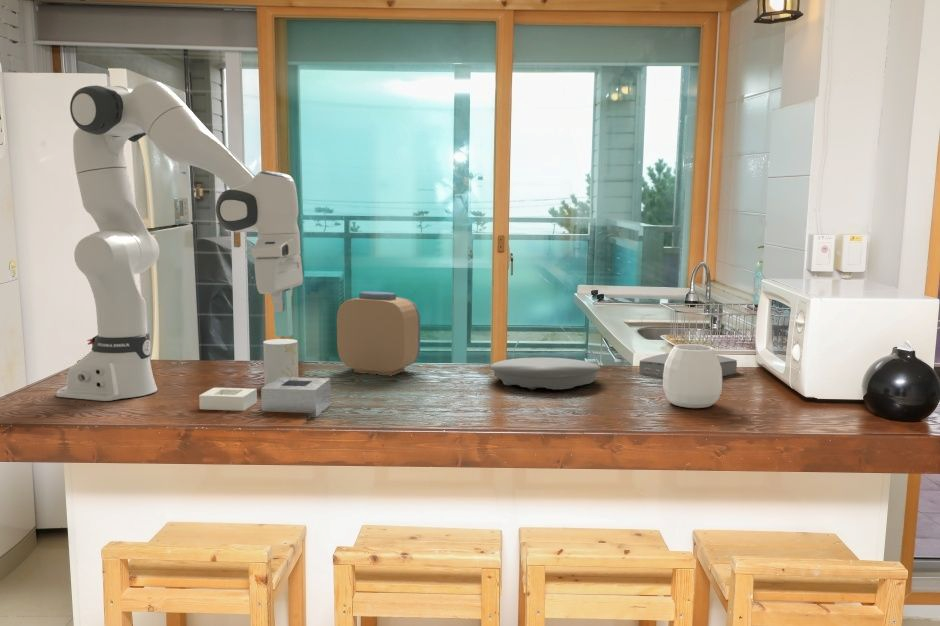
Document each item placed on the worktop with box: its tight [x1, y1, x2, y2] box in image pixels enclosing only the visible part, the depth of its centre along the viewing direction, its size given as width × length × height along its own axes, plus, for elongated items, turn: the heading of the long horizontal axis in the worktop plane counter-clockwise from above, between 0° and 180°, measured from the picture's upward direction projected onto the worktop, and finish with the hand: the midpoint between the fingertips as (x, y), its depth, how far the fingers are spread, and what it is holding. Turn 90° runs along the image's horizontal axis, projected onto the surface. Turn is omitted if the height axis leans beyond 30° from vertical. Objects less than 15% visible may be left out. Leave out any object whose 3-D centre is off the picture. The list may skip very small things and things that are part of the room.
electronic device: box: [638, 352, 738, 379], centre depth 234 cm, size 19×22×5 cm
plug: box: [273, 289, 294, 338], centre depth 188 cm, size 3×3×10 cm
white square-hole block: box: [198, 387, 258, 412], centre depth 191 cm, size 10×8×4 cm
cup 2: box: [662, 343, 723, 409], centre depth 197 cm, size 13×13×14 cm
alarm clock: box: [336, 291, 421, 377], centre depth 232 cm, size 21×10×22 cm, turn 66°
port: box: [260, 376, 332, 418], centre depth 191 cm, size 12×12×6 cm
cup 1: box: [263, 338, 299, 386], centre depth 211 cm, size 8×8×12 cm
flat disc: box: [490, 357, 601, 391], centre depth 221 cm, size 28×28×4 cm
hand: (282, 310), depth 188 cm, fingers closed on plug, 3 cm apart
